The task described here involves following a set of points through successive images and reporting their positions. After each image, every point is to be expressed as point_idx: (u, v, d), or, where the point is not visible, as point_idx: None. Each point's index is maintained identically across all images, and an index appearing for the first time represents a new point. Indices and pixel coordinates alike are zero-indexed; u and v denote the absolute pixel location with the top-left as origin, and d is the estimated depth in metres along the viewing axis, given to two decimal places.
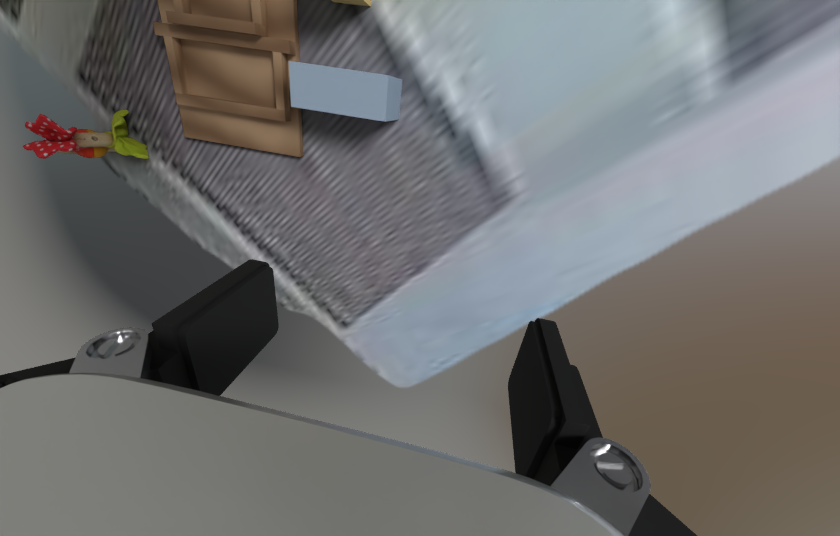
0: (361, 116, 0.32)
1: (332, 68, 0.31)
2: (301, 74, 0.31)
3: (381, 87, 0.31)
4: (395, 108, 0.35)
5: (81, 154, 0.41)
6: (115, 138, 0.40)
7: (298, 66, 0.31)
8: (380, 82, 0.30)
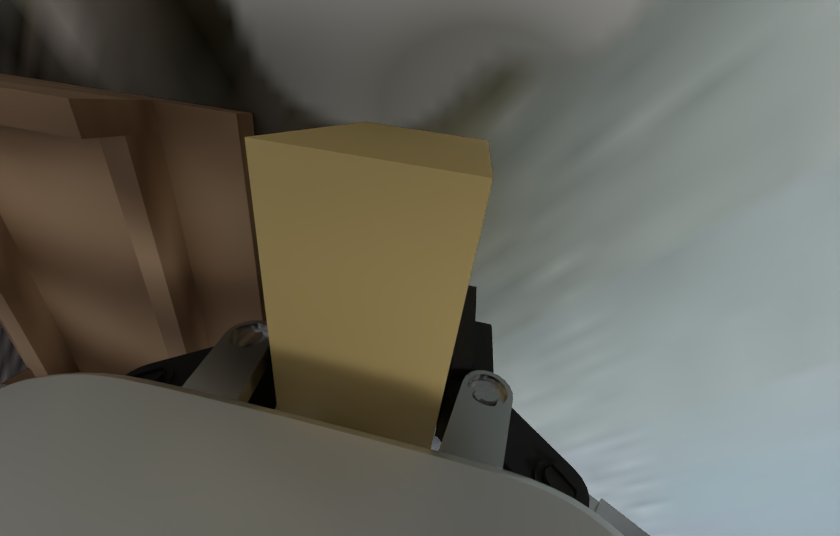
0: None
1: None
2: None
3: None
4: None
5: None
6: None
7: None
8: None
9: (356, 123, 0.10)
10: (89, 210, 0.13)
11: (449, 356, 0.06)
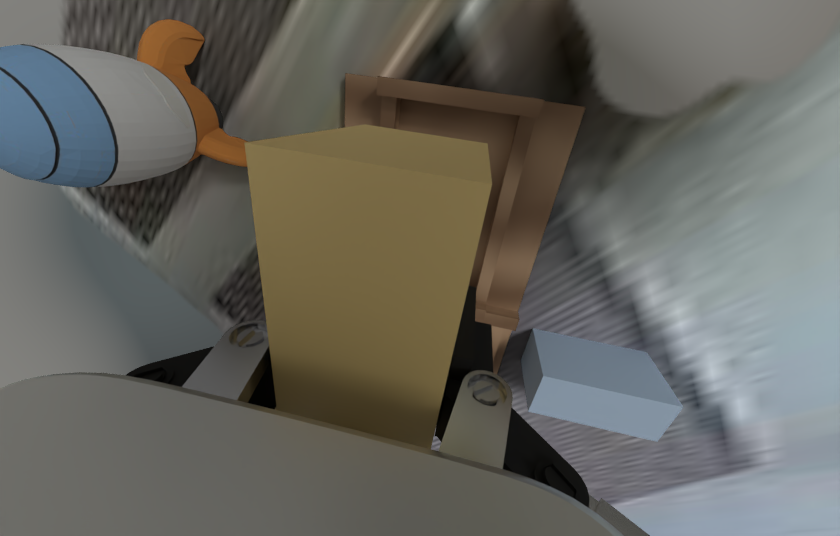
0: (625, 432, 0.25)
1: (604, 390, 0.24)
2: (556, 388, 0.24)
3: (667, 415, 0.24)
4: None
5: None
6: None
7: (555, 382, 0.24)
8: (668, 411, 0.24)
9: (356, 126, 0.10)
10: None
11: (448, 360, 0.06)
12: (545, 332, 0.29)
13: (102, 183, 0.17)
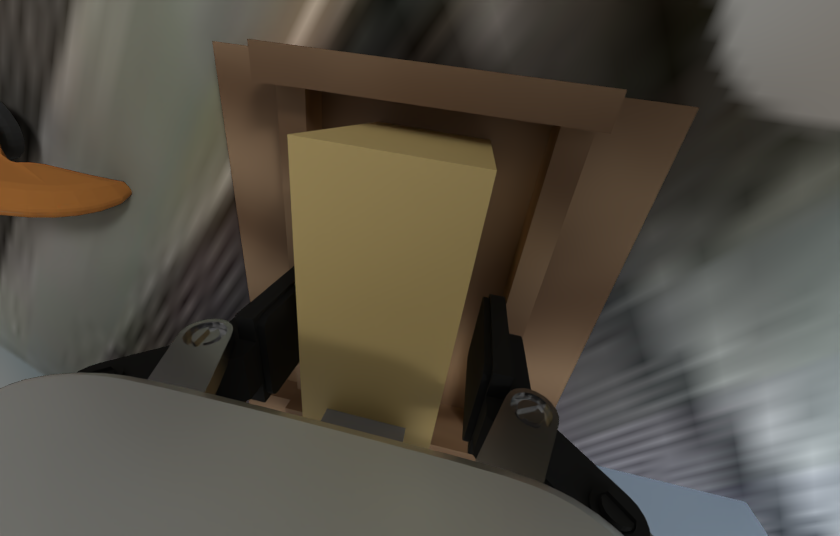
0: None
1: None
2: None
3: None
4: None
5: None
6: None
7: None
8: None
9: (371, 123, 0.10)
10: None
11: (456, 326, 0.07)
12: None
13: None
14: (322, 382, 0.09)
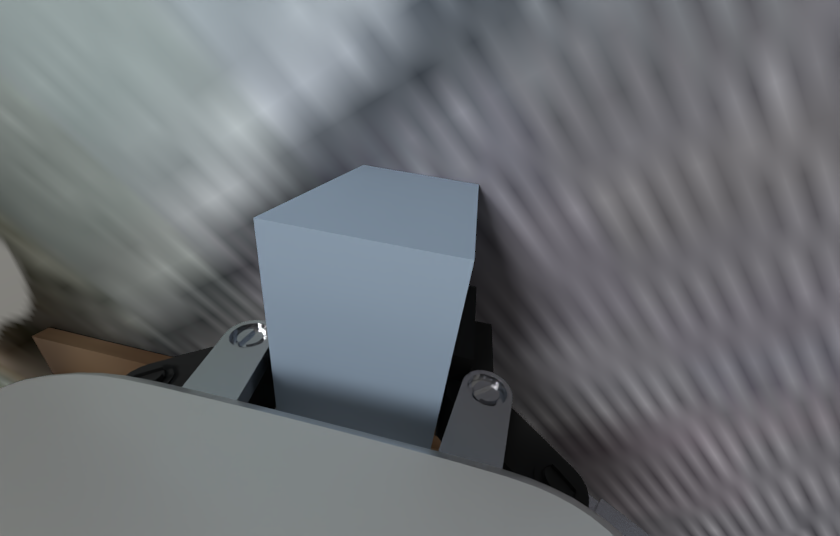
0: (443, 366, 0.07)
1: None
2: None
3: (310, 258, 0.06)
4: (436, 193, 0.09)
5: None
6: None
7: None
8: (290, 261, 0.06)
9: None
10: None
11: None
12: None
13: None
14: None
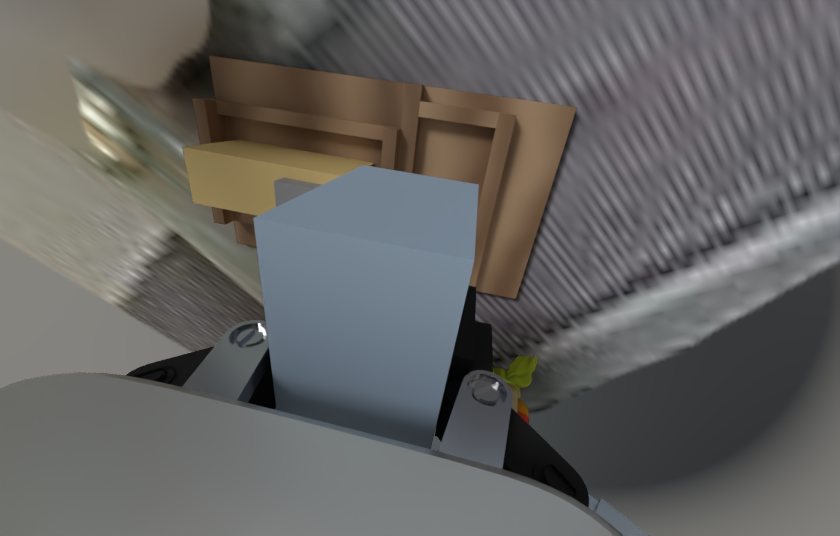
0: (442, 366, 0.07)
1: None
2: None
3: (310, 259, 0.06)
4: (436, 194, 0.09)
5: None
6: (508, 380, 0.30)
7: None
8: (290, 261, 0.06)
9: None
10: None
11: (229, 156, 0.22)
12: None
13: None
14: None
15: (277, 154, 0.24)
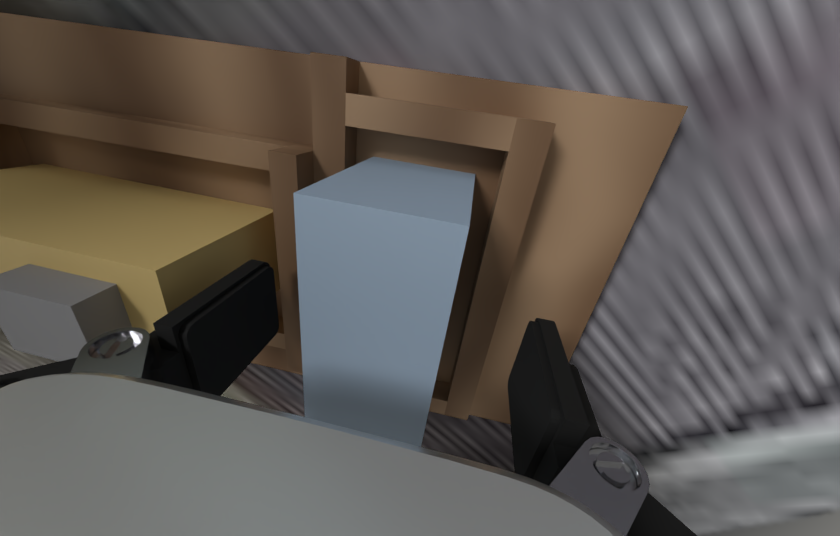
0: (443, 317, 0.08)
1: (306, 371, 0.10)
2: None
3: (338, 226, 0.07)
4: (438, 180, 0.10)
5: None
6: None
7: None
8: (321, 228, 0.07)
9: None
10: None
11: None
12: None
13: None
14: None
15: (66, 200, 0.12)
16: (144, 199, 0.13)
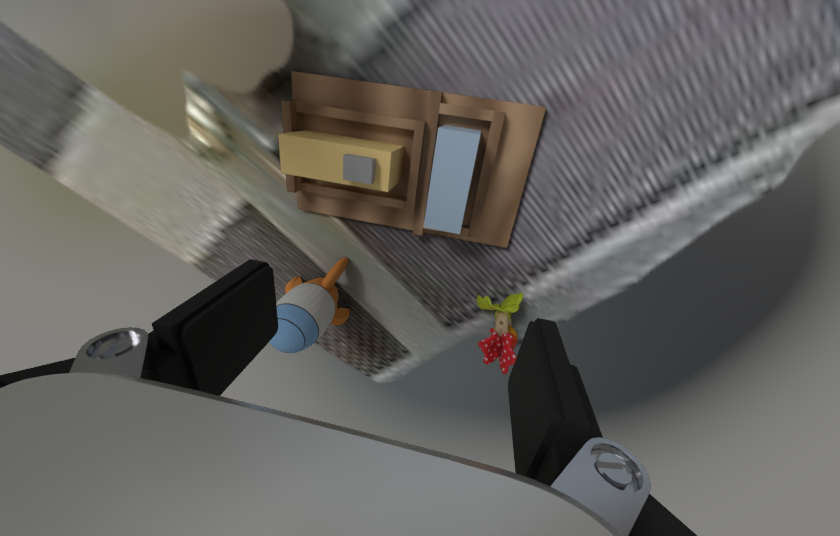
0: (473, 161, 0.31)
1: (430, 186, 0.33)
2: (433, 217, 0.34)
3: (448, 136, 0.30)
4: (469, 130, 0.33)
5: (513, 345, 0.41)
6: (501, 309, 0.41)
7: (427, 219, 0.34)
8: (443, 137, 0.30)
9: None
10: None
11: (310, 139, 0.33)
12: None
13: (315, 320, 0.38)
14: (337, 176, 0.34)
15: (338, 139, 0.35)
16: (359, 140, 0.36)
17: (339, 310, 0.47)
